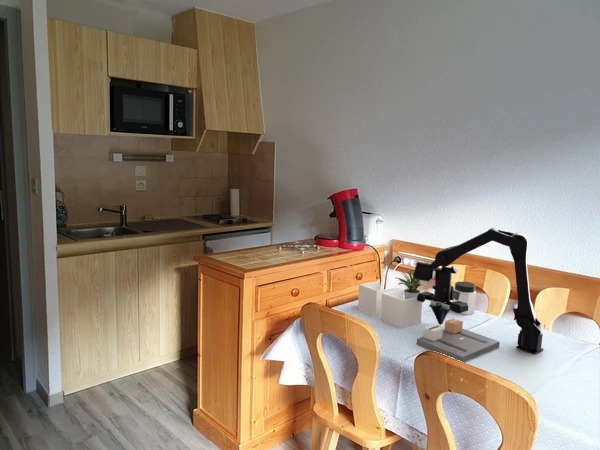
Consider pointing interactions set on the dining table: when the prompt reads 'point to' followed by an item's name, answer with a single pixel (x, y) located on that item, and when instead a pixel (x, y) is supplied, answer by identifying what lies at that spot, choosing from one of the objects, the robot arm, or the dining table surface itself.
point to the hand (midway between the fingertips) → (440, 324)
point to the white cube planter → (389, 305)
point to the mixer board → (460, 344)
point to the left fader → (433, 332)
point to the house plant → (410, 286)
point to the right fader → (453, 325)
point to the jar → (466, 295)
